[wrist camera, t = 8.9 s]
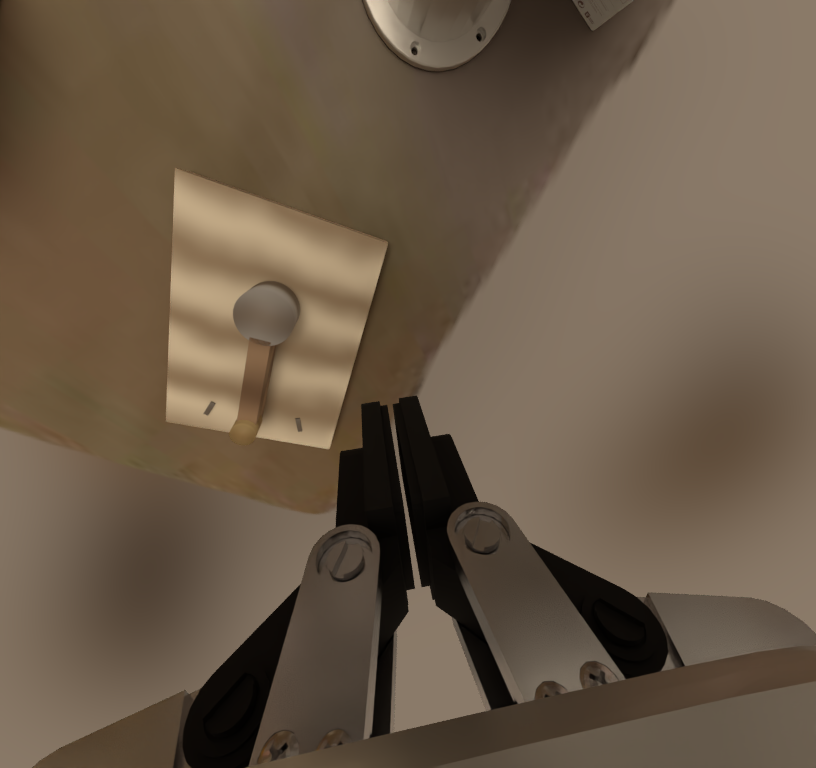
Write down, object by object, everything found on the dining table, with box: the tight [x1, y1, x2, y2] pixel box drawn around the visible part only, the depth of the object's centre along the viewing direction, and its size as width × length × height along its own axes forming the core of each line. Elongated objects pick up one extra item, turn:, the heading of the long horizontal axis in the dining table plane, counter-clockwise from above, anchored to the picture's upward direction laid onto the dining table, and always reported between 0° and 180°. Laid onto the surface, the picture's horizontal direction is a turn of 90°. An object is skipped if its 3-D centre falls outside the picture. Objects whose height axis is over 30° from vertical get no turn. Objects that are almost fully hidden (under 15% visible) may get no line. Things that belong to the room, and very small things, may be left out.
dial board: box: [166, 168, 388, 449], centre depth 35 cm, size 25×18×3 cm
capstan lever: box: [229, 281, 300, 445], centre depth 33 cm, size 18×5×5 cm, turn 161°
